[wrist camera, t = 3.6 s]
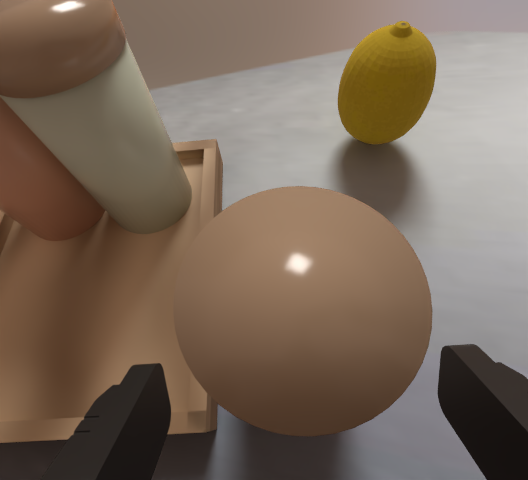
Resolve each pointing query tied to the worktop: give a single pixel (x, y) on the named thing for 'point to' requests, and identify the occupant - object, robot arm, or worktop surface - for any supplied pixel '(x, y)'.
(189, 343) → the white jar
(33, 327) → the tray
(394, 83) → the lemon
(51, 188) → the terracotta jar
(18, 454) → the worktop surface
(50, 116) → the sage jar
